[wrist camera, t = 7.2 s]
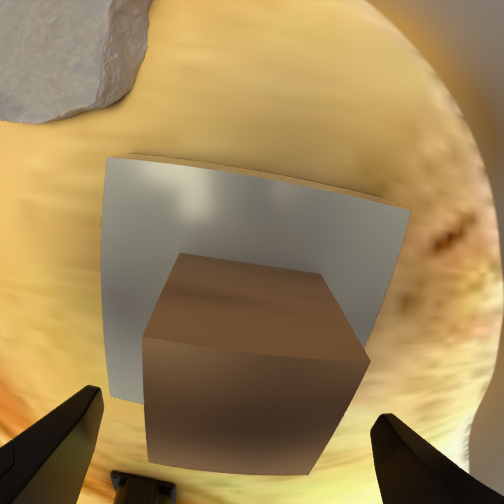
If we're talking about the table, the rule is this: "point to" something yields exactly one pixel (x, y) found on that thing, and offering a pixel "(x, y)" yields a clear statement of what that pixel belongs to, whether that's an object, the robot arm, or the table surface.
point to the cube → (246, 368)
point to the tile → (232, 241)
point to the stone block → (68, 56)
